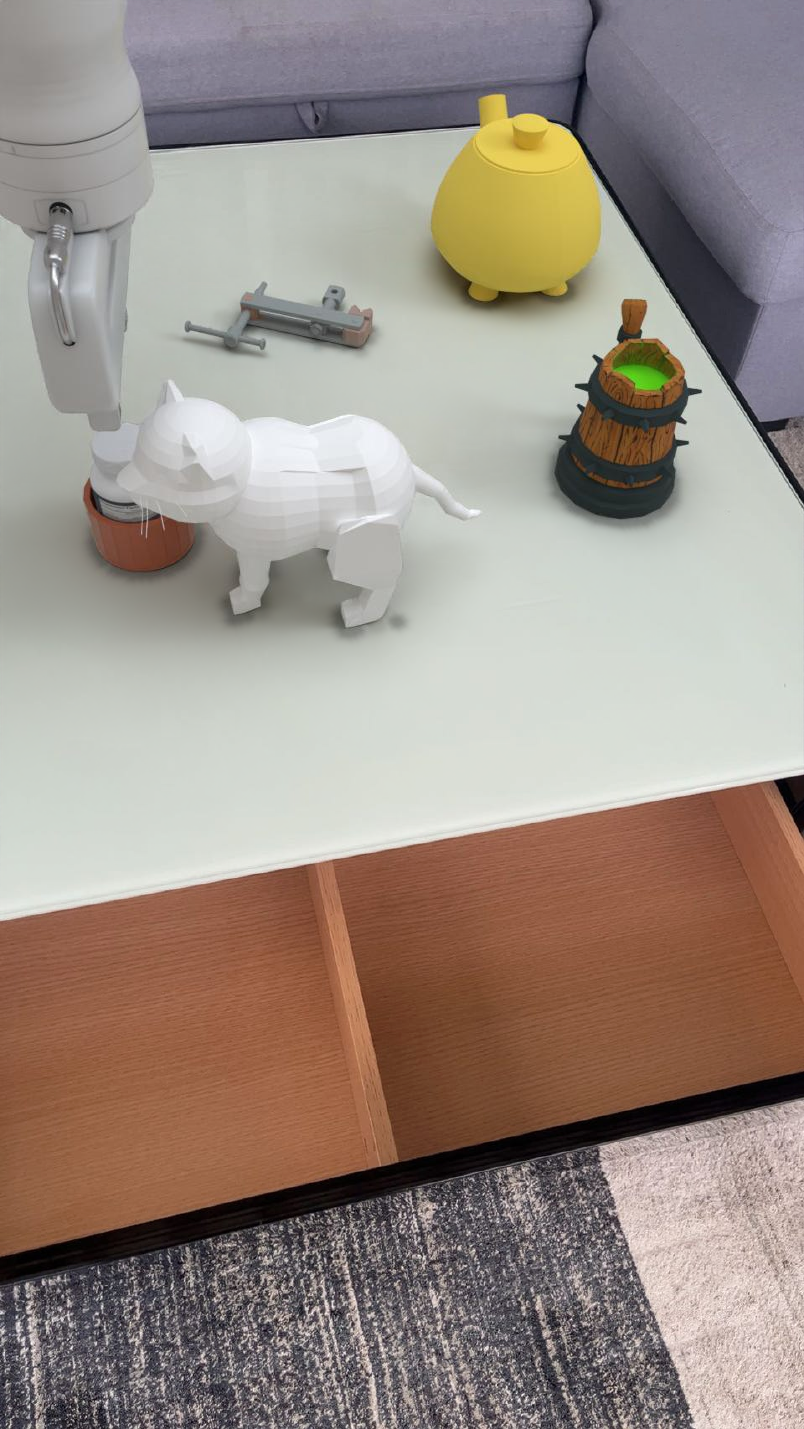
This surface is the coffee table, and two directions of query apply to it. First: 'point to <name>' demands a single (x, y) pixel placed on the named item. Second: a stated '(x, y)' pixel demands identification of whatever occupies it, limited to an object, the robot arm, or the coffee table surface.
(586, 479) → the mug
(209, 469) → the cat figurine
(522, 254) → the teapot
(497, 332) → the coffee table surface
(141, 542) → the cup
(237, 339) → the clamp
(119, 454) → the pill bottle
